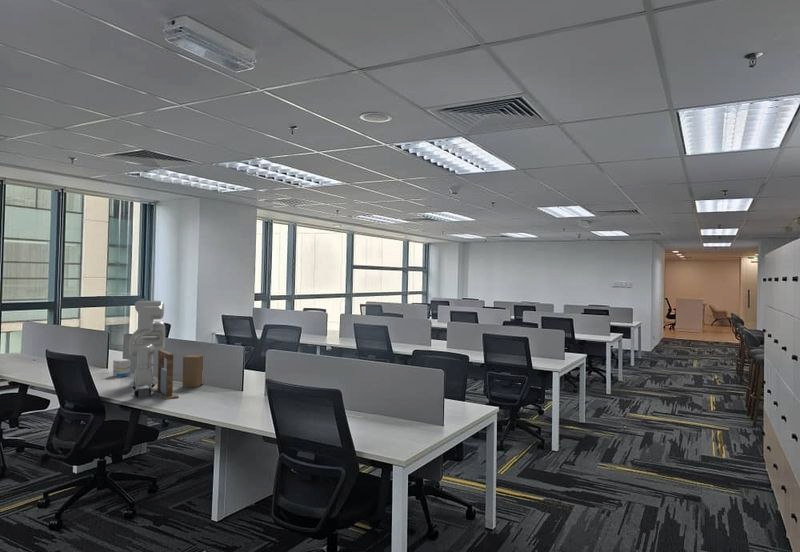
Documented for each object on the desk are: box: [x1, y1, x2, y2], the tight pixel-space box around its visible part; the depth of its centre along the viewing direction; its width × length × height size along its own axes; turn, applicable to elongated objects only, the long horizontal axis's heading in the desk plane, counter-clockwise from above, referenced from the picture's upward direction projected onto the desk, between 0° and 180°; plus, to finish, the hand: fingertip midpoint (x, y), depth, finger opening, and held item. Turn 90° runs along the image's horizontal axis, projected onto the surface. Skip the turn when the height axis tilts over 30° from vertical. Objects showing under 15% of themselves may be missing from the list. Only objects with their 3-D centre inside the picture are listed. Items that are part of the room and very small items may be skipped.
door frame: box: [151, 349, 180, 400], centre depth 334 cm, size 31×8×26 cm, turn 38°
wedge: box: [133, 387, 150, 399], centre depth 327 cm, size 6×12×5 cm, turn 38°
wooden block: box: [182, 354, 204, 388], centre depth 360 cm, size 10×10×20 cm
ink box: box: [112, 358, 131, 378], centre depth 389 cm, size 9×8×12 cm
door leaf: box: [159, 367, 167, 395], centre depth 334 cm, size 18×2×15 cm, turn 38°
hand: (143, 395), depth 323 cm, fingers open, 6 cm apart
